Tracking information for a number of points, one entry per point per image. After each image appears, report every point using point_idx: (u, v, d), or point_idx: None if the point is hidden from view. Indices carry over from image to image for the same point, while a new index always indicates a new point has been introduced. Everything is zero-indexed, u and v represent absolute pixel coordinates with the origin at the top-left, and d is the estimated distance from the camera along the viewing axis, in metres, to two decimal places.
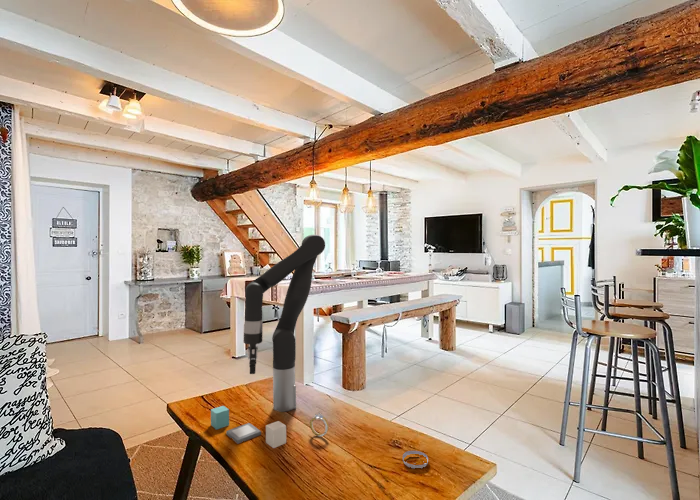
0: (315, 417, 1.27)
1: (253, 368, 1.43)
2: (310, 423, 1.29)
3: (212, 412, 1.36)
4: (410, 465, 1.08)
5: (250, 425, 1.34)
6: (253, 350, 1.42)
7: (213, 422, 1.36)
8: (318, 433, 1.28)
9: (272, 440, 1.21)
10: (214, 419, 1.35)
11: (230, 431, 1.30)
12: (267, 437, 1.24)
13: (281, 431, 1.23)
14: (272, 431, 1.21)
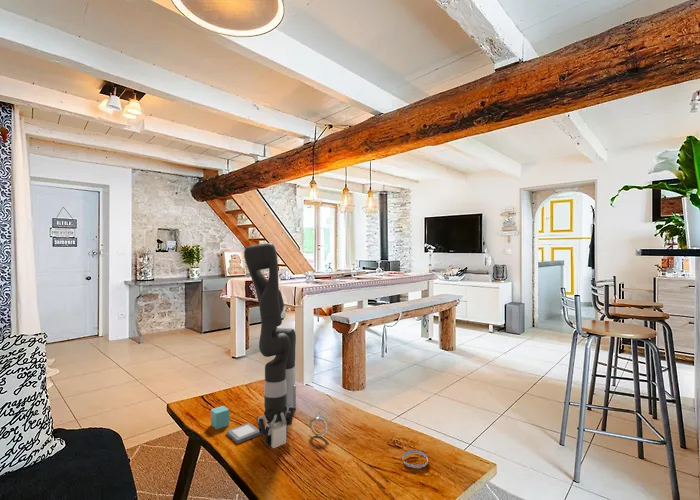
0: (315, 417, 1.27)
1: None
2: (310, 423, 1.29)
3: (212, 412, 1.36)
4: (410, 465, 1.08)
5: (250, 425, 1.34)
6: None
7: (213, 422, 1.36)
8: (318, 433, 1.28)
9: (272, 440, 1.21)
10: (214, 419, 1.35)
11: (230, 431, 1.30)
12: None
13: (281, 431, 1.23)
14: (272, 431, 1.21)
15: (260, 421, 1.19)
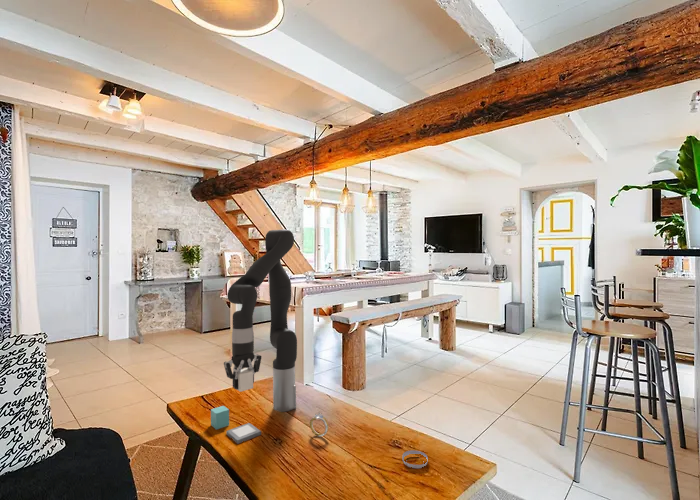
0: (315, 417, 1.27)
1: None
2: (310, 423, 1.29)
3: (212, 412, 1.36)
4: (409, 465, 1.08)
5: (250, 425, 1.34)
6: None
7: (213, 422, 1.36)
8: (318, 433, 1.28)
9: (239, 384, 1.27)
10: (214, 419, 1.35)
11: (230, 431, 1.30)
12: None
13: (248, 376, 1.29)
14: (239, 375, 1.27)
15: (227, 365, 1.25)
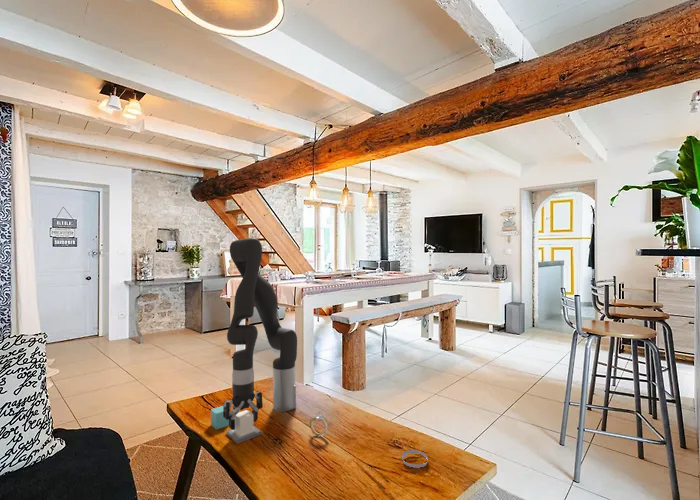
0: (315, 417, 1.27)
1: None
2: (310, 423, 1.29)
3: (212, 412, 1.36)
4: (409, 464, 1.08)
5: None
6: None
7: (213, 422, 1.36)
8: (318, 433, 1.28)
9: (239, 428, 1.27)
10: (214, 419, 1.35)
11: (230, 431, 1.30)
12: (235, 425, 1.29)
13: (248, 419, 1.29)
14: (239, 419, 1.27)
15: (227, 404, 1.25)
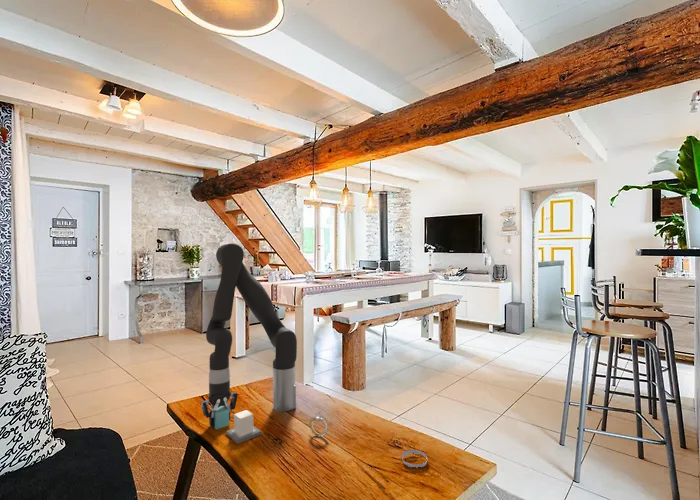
0: (315, 417, 1.27)
1: None
2: (310, 423, 1.29)
3: None
4: (409, 464, 1.08)
5: None
6: None
7: None
8: (318, 433, 1.28)
9: (239, 428, 1.27)
10: None
11: (230, 431, 1.30)
12: (235, 425, 1.29)
13: (248, 419, 1.29)
14: (239, 419, 1.27)
15: (203, 405, 1.32)
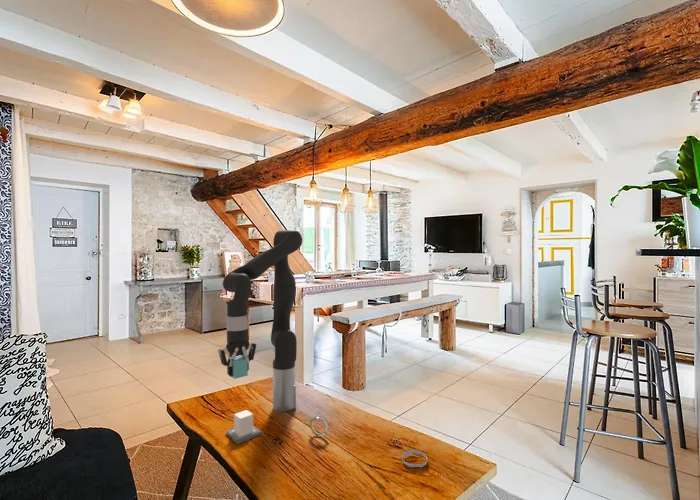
0: (315, 417, 1.27)
1: None
2: (310, 423, 1.29)
3: None
4: (409, 464, 1.09)
5: None
6: None
7: None
8: (318, 433, 1.28)
9: (239, 428, 1.27)
10: None
11: (230, 431, 1.30)
12: (235, 425, 1.29)
13: (248, 419, 1.29)
14: (239, 419, 1.27)
15: (221, 352, 1.27)
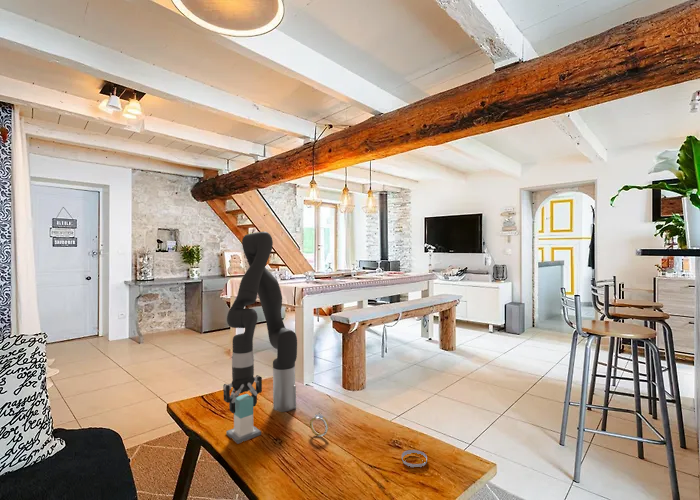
0: (315, 417, 1.27)
1: None
2: (310, 423, 1.29)
3: (235, 400, 1.29)
4: (408, 464, 1.09)
5: None
6: None
7: (237, 411, 1.29)
8: (318, 433, 1.28)
9: (239, 428, 1.27)
10: (238, 408, 1.28)
11: (230, 431, 1.30)
12: (235, 425, 1.29)
13: (248, 419, 1.29)
14: (239, 419, 1.27)
15: (226, 387, 1.25)
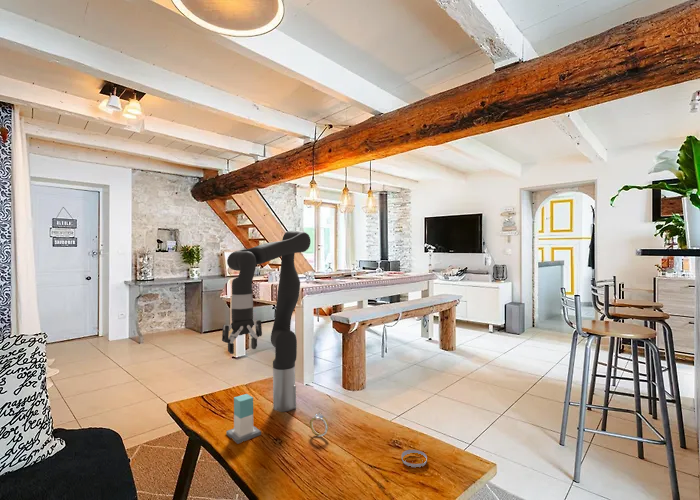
0: (315, 417, 1.27)
1: None
2: (310, 423, 1.29)
3: (235, 400, 1.29)
4: (408, 464, 1.09)
5: None
6: None
7: (237, 411, 1.29)
8: (318, 433, 1.28)
9: (239, 428, 1.27)
10: (238, 408, 1.28)
11: (230, 431, 1.30)
12: (235, 425, 1.29)
13: (248, 419, 1.29)
14: (239, 419, 1.27)
15: (226, 327, 1.25)
